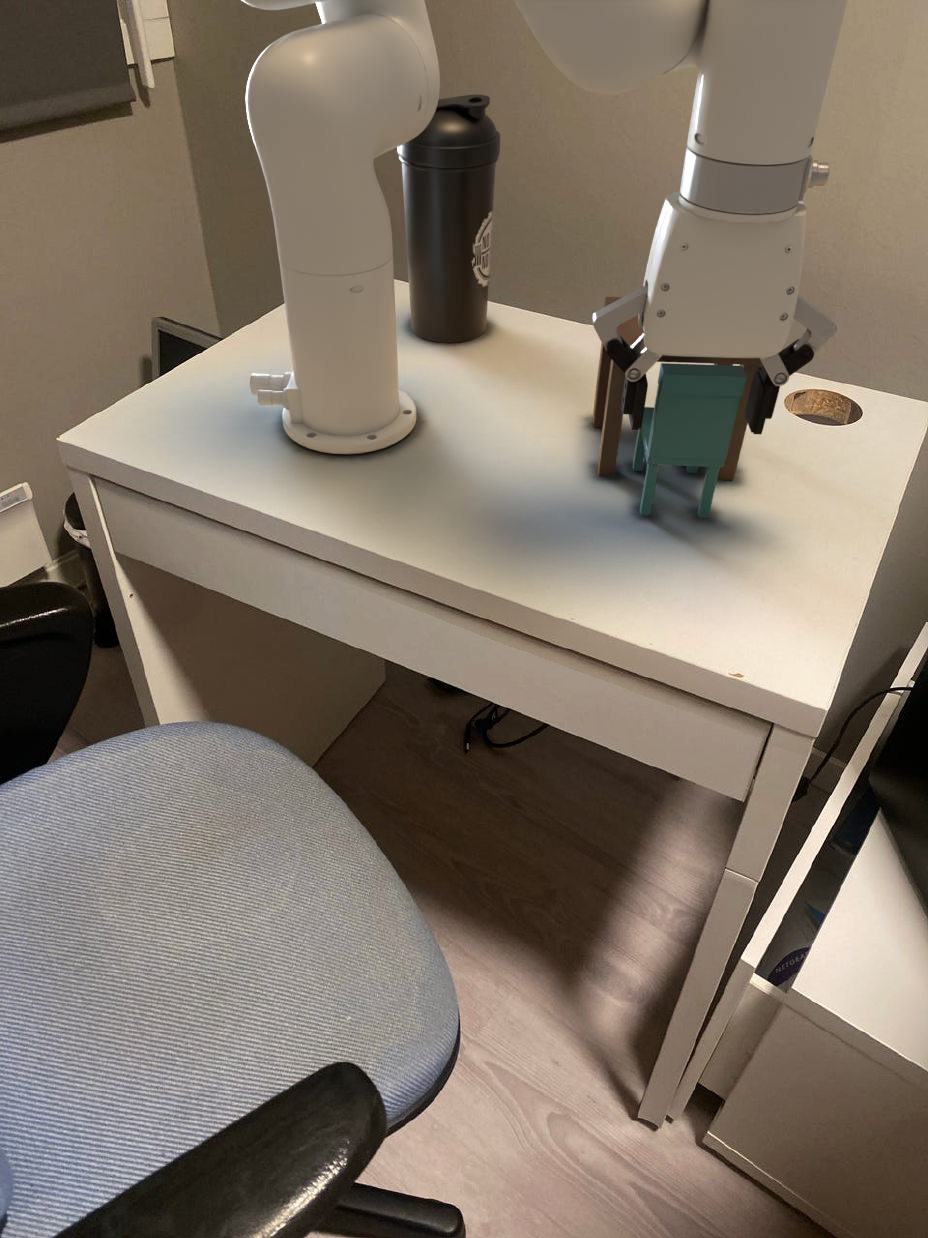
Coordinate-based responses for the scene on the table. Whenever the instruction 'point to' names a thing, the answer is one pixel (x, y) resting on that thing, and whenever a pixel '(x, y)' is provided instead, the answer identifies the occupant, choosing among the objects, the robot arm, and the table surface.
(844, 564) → the table surface
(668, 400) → the chair
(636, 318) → the side table
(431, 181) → the water bottle
